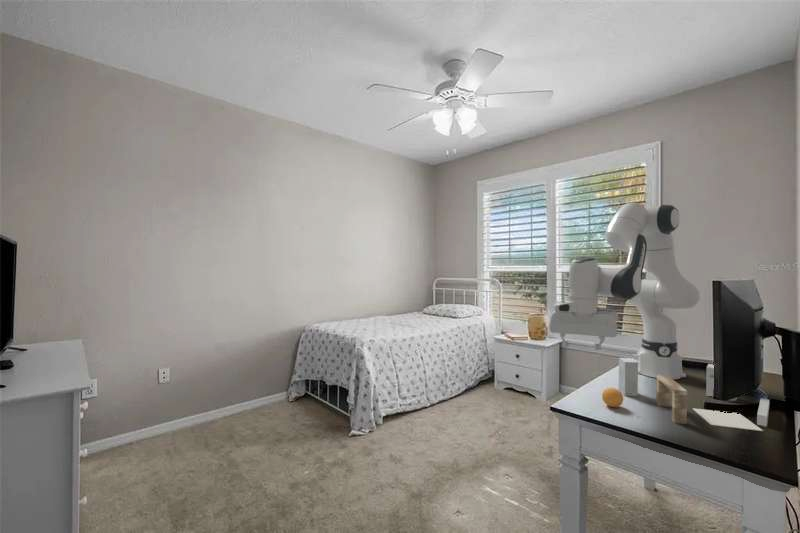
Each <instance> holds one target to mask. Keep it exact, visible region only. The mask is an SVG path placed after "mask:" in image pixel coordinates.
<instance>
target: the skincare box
mask: <svg viewBox="0 0 800 533" xmlns="http://www.w3.org/2000/svg"><path fill="white" fill-rule="evenodd" d="M636 361H637V360H634V359H633V358H628V357H618V390H619V391H620V392H621V393H622V395H623V396H626V397H638V395H639V394H638V391H639V390H638V385H639V384H638V383H639V373H638V362H636Z"/></svg>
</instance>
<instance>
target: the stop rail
mask: <svg viewBox="0 0 800 533" xmlns="http://www.w3.org/2000/svg"><path fill="white" fill-rule="evenodd" d="M769 412H770V399H767V398H762V397H761V398H760V400H759V405H758V409H757V413H756V414H757V415H756V426H760V427H765V428H766V427H768V421H769V414H770V413H769Z"/></svg>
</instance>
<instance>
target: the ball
mask: <svg viewBox="0 0 800 533" xmlns="http://www.w3.org/2000/svg"><path fill="white" fill-rule="evenodd" d="M601 394H602V395H601V398H602V401H603V402H604V404H606V406H608V407H611V408H618V407H620V406H622V404H623V402H624V394H623V393H622V392H620V391H619V389H617V388H615V387H607V388H605V389H603V391H602V393H601Z"/></svg>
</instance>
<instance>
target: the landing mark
mask: <svg viewBox="0 0 800 533" xmlns="http://www.w3.org/2000/svg"><path fill="white" fill-rule="evenodd" d="M692 410H693V411H694V412H695V413H697V414H698V415H699V417H701V418H702V419H704V420H705V421H706V422H707V423H708V424H709V425H711V426H714V427H715V426H716V427H722V428H723V427H724V428H730V429H731V428H732V429H733V428H734V429H738V430H739V429H741V430H749V431H750V430H751V431H759V432H764V430H763V429H762V428H760V427H759V425H757V424H755V423H753V422H752V421H751V420H750V419H748V418H746V417H745V416H744V415H742V414H741V413H739V414H737V413H738V412H732V413H727V412H728V411H723V412H720V411H721V410H714V411H713V410H712V409H703V408H694V407H692ZM724 412H726V413H724Z"/></svg>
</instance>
